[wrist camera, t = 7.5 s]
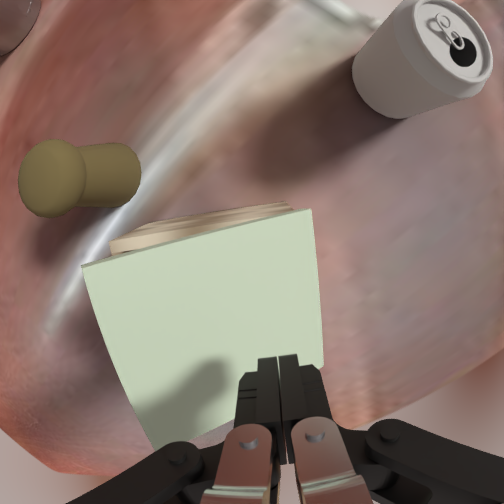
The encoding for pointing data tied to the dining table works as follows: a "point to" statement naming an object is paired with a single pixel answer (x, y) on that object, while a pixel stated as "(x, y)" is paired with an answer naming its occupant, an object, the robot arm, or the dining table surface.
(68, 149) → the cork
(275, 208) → the box
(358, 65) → the can
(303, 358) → the lid
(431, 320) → the dining table surface
